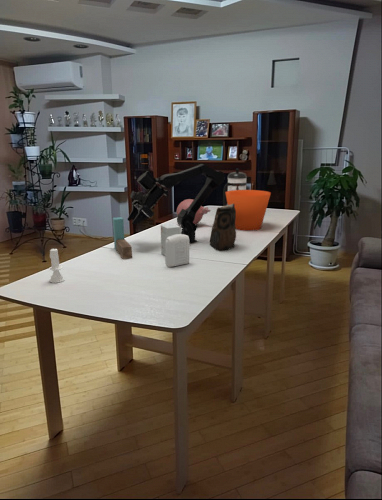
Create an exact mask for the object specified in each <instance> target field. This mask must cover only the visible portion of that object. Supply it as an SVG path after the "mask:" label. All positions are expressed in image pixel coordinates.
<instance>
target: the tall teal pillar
mask: <svg viewBox="0 0 382 500" xmlns="http://www.w3.org/2000/svg"><path fill="white" fill-rule="evenodd" d="M124 223H125V222H124V218H123V217H121V216H120V217H112V231H113V242H114V243H113V244H114V249H115V250H116V240H120V239H125V228H124V225H125V224H124Z"/></svg>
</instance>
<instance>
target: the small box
mask: <svg viewBox="0 0 382 500" xmlns="http://www.w3.org/2000/svg"><path fill="white" fill-rule="evenodd" d="M181 231H182V228H181V226H180V225H177V224H175V223H166V224H160V251H161V252H160V253H161V254H162V255H163V256H165V240H166V238H168V237H170V236H172V235H176V234H181Z"/></svg>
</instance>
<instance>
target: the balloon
mask: <svg viewBox="0 0 382 500" xmlns="http://www.w3.org/2000/svg"><path fill="white" fill-rule="evenodd" d="M193 200H194V199H191V198H188V199H184V200H183V201H181V202H180V203H179V204H178V206H177V208H176V218H177V217H178V214H179V213H180V212H181V210H182V209H185V210H186V209H187V208H188V207H189V206H190V205H191V203H192V202H193ZM210 212H211V209H209V207H207V206H206V207H204V206H201V207H200V208H199V210H198V211H197V212H196V215H195V219H194V221H193V223H194V224H195V225H196V226H197V224H199V223H200V222H201V221H202V220H203V217H204V215H206V214H208V213H210Z"/></svg>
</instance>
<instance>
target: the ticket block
mask: <svg viewBox="0 0 382 500" xmlns="http://www.w3.org/2000/svg"><path fill="white" fill-rule="evenodd" d="M115 251H116V252H117V254H118V255H119V256H120V257H121V258H122V260H127V259H133V246H132V245H131V244H130V243H129V242H128V241H127V240H126V239H125V238H124V239H120V240H116V249H115Z"/></svg>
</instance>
